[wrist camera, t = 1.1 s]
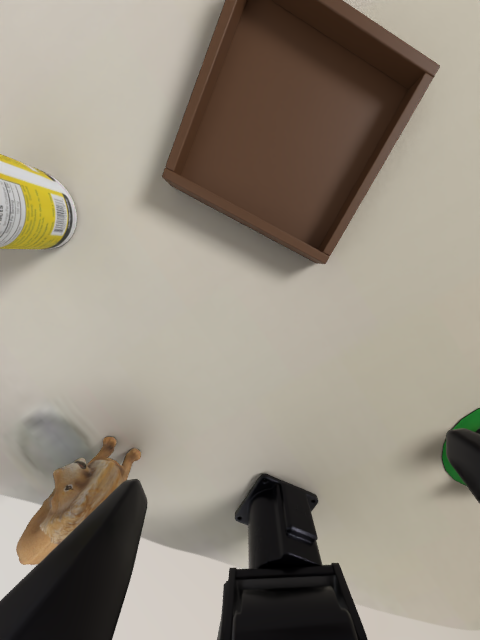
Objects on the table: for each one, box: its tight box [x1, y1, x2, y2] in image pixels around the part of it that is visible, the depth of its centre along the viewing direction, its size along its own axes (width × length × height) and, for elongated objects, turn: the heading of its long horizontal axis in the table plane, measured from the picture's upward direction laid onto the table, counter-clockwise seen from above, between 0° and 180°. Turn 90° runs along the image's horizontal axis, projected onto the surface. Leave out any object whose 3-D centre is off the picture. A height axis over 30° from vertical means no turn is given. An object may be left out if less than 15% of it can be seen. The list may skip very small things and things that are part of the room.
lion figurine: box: [16, 437, 141, 565], centre depth 19 cm, size 15×5×9 cm, turn 143°
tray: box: [162, 0, 440, 264], centre depth 15 cm, size 12×12×2 cm
